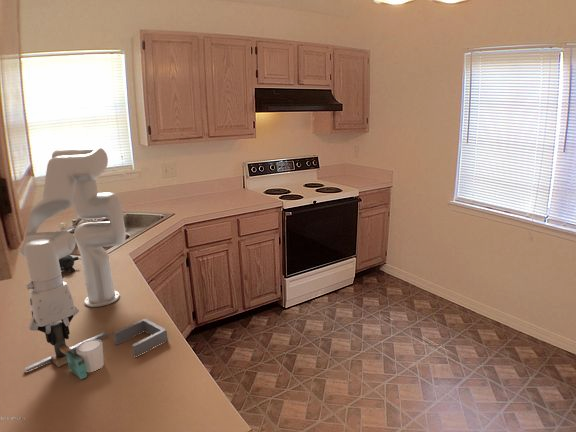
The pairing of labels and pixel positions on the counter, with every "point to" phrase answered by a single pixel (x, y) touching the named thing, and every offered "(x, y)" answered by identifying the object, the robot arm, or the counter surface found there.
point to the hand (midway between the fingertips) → (59, 340)
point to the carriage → (66, 353)
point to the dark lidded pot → (67, 263)
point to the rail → (49, 359)
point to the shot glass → (91, 354)
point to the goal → (134, 329)
